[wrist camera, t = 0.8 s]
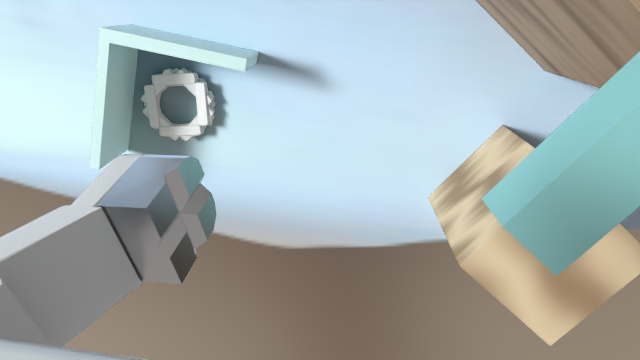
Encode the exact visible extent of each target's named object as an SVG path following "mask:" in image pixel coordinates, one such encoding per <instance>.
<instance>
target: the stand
mask: <svg viewBox="0 0 640 360" xmlns="http://www.w3.org/2000/svg"><path fill="white" fill-rule="evenodd" d="M476 1H477V2H478V3H479V4H480V5H481V6H482V7H483V8H484V9H485V10H486V11H487V12H488V13H489V14H490V15H491V16H492V17H493V18H494V19H495V20H496V21H497V22H498V24H499V25H500V26H501V27H502V28H503V29H504V30H505V31H506V32H507V33H508V34H509V35H510V36H511V37H512V38H513V39H514V40H515V41H516V42H517V43H518V44H519V45H520V46H521V47H522V48H523V49H524V50H525V51H526V52H527V53H528V54H529V55H530V56H531V57H532V58H533V59H534V60H535V61H536V62H537V63H538V64H539V65H540V66H541V67H542V68H543V69H544V71H547V72H551V73H554V74H557V75H560V76H563V77H567V78H570V79H573V80H576V81H579V82H583V83H586V84H589V85H592V86H596V87H599V88H601V87H602V86H603V85H604V84H605V83H606V82H607V81H608V80H610V79H611V78H612V77H613V76H614V75H615V74H616V73H617V72H618V71H619V70H620V69H621V68H622V67H624V66H625V65H626V64H627V63H628V62H629V61H630V60H631V59H632V58H633V57H634V56H635V55H636V54H637V53H639V52H640V0H476Z"/></svg>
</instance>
